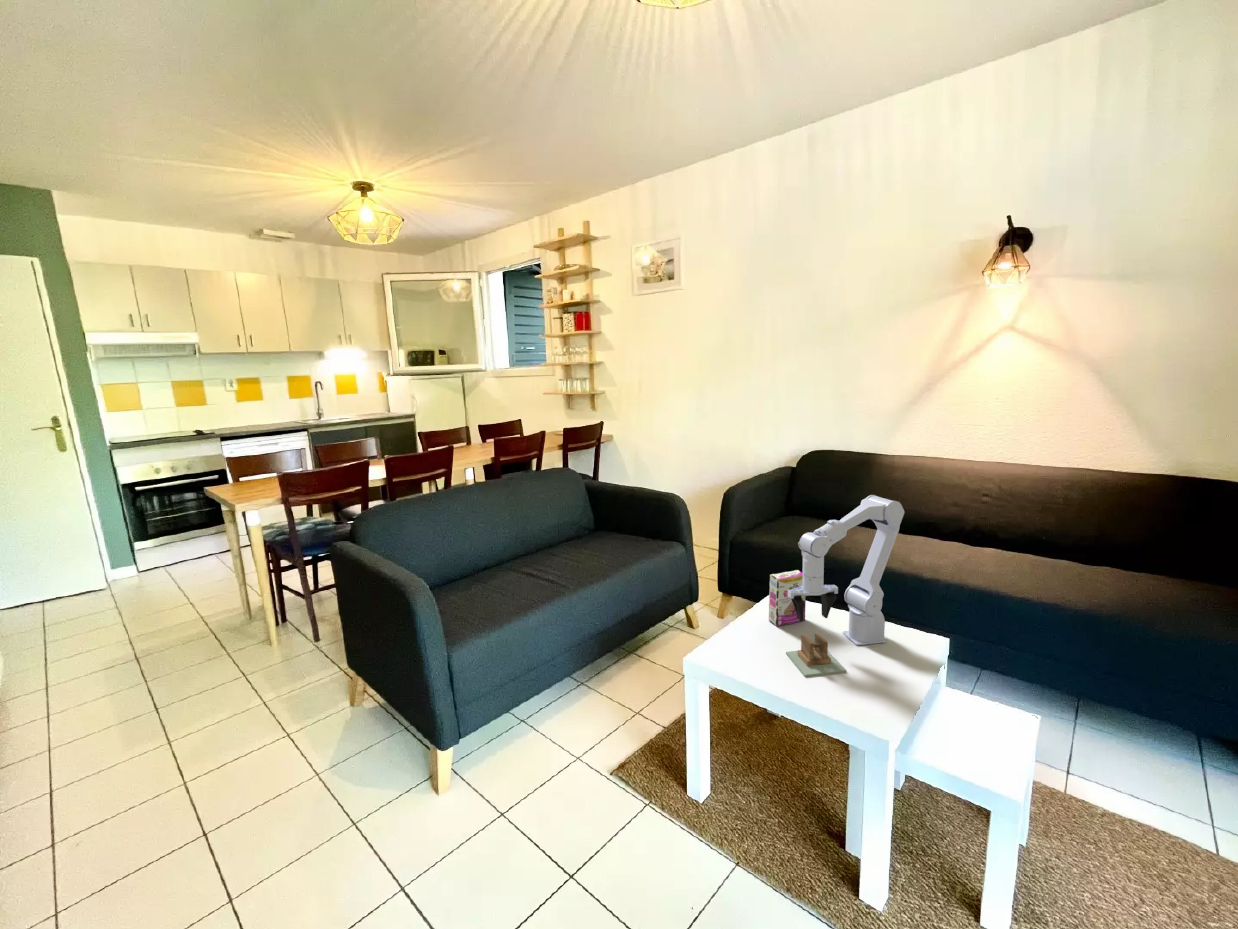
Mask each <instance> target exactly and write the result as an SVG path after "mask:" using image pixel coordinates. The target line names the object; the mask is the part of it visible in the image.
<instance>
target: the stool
mask: <svg viewBox="0 0 1238 929" xmlns="http://www.w3.org/2000/svg"><path fill="white" fill-rule="evenodd" d="M800 641H801V642H800V643H801V644H800V649H798V650H797V651H798V654H797V655H798V656H799V658H800V659H801V660H802V661H803V662H804V663H805V665H806V666H816V665H825V664H831V658H830V657H829V656H828V655H827V652H829V651H828V649H829V648H828V647H829V646H828V644H829V643H828V641H827V639H826V638H824V637H823V635H821V634H820V633H819V632H816V633H814V642H813V641H812V640H811V639H810V638H809V637H808V635H807V634H801V635H800Z"/></svg>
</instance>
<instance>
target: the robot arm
mask: <svg viewBox="0 0 1238 929" xmlns="http://www.w3.org/2000/svg"><path fill="white" fill-rule="evenodd" d="M904 515H905V510H904V508H903V505H902V503H901V502H900V501H897V500H891V499H889V498H883V497H881V496H877V495H875V494H870V495H868V496H867V497H865V498H864V499H862V500H861V501H860V505H858V506H857V507H855V508H854V509H853V510H852V511H850V512H849V513H848V514H846V515H844V516H843V517H841V519H840V520H837V519H829V520H827V521H826V522H827V523H825V524H824V525H822V526H821V527H819V528H817V529H815V530H814V531H813V532H805V533H804V534H803V535H802V536H801V537H800V538H799V541H798V542H797V545H798V548H799V549H800V550H801V556H802V573H803V583H802V586H801V587H798V588H794V589H791V590H788V597H789V598H790V599H791V600H792V602H793V604H794V607H795V610H796V613H797V618H798V619H799V620H800V621H801V622H804V621H803V609H804V605H805V606H806V603H805V602H804V601H803V600H802V598H801V596H806V597H808V596H809V597H810V596H814V597H815V596H820V601H821V616H822V617H823V618H824V619H829V618H828V617H829V614H830V612H831V608H832V606H833V604H834V603H835V602H836V601H837V595H836V594H839V587H838V586H837V585H835V584H824V581H825V580H824V579H825V578H824V572H825V570H824V568H825V565H824V564H825V556H826V555H827V553H828V552H829V551H830V550H829V549H830V548H831V547H832V545H834V544H836V543H837V542H839V541H841V540H842V539H844V538H845V537H846V536H847V532H848V530H850V529H852V528H854V527H856V526H858V525H860V524H862V523H863V522H866V521H867V520H871V521H872V522H873V523H874V524H875V525H874V526H876V529H877V530H876V532H875V535H874V538H873V541H872V543H871V546H870V549H869V551H868V553H867V554H868V555H867V557H866V560H865V562H864V565H863V568H862V570H861V573H860V575H859V577H857V578H854V579H852V580H851V582H850V584H849V586H848V587H847V588H846V589H845V592H844V595H843V596H844V598H843V599H844V601H845V602H846V604H847V607H848V609H849V618H848V619H849V620H848V630H844V631H842V634H843V635H844V636H845V637H847V638H848V639H849V640H850V641H851V642H852V643H853V644H854V645H855V646H864V645H872V644H882V643H886V640H885V625H886V620H885V616H884V614H883V613H882V611H881V610H882V607H883V598H884V595H885V594H884V591H883V590H882V588H881V586H880V582H881V580H882V576H883V574H884V571H885V569H886V567H887V563H888V562H889V559H890V555H891V554H892V553H891V552H892V551H893V548H894V545H895V543H896V539H897V537H898V534H899V531H900V527H901V526H900V525H901V523H902V520H903V518H904Z"/></svg>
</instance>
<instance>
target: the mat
mask: <svg viewBox="0 0 1238 929" xmlns="http://www.w3.org/2000/svg"><path fill="white" fill-rule="evenodd" d="M797 654H798V650H793V651H792V650H791V651H786V652H785V655H786V656H787V657H788V659H790V661H791V662H792V664H794V666H795V667H796V668H797V669H798V671H799V672H800V673H801V674H802V675H803V677H805V678H808V677H816V676H823V675H834V674H842V673H843V674H844V673H847V671H848V670H847V669H846V668H845V667H844V665H842V664H841V663H840V662H839V661H838V660H837V658H835V656H833V655H832V654H831V653H830V651H828V652H827V655H828V656H829V657H830V658H831V664H825V665H816V666H806V665H805V663H804V662H803V661H802V660H801V659H800V658H799V656H798V655H797Z"/></svg>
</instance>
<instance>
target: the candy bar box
mask: <svg viewBox="0 0 1238 929" xmlns="http://www.w3.org/2000/svg"><path fill="white" fill-rule="evenodd" d="M802 583H803V571H800V570H799V569H795V570H791V571H783V572H778V573H772V574H769V587H768V588H769V591H768V592H769V593H768V594H769V600H768V602H769V603H768V621H769V622H770V623H772V624H773V625H774V626H775V627H781V626H785V625H791V624H796V623H801V622H804V621H806V602H807V600H806V598H807V596H801V598H802V600H803V601H804V602H805V605H804V609H803V621H800V620H799V619H798V618H797V613H796V610H795V607H794V604H793V602H792V600H791V599H790V598H789V597H788V590H791V589H794V588H798V587H801V586H802Z"/></svg>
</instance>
